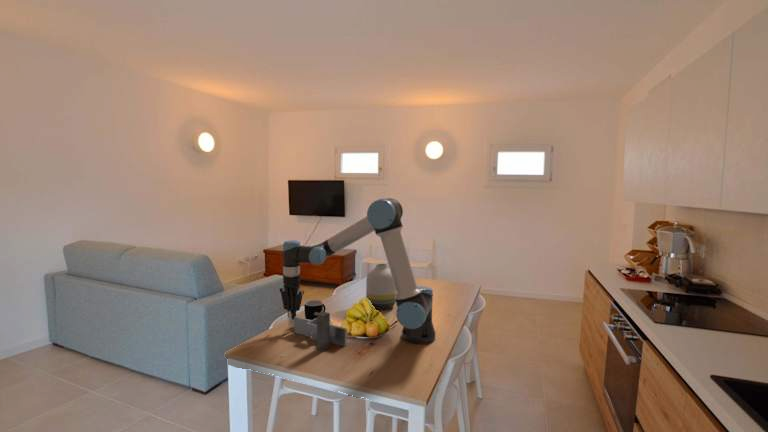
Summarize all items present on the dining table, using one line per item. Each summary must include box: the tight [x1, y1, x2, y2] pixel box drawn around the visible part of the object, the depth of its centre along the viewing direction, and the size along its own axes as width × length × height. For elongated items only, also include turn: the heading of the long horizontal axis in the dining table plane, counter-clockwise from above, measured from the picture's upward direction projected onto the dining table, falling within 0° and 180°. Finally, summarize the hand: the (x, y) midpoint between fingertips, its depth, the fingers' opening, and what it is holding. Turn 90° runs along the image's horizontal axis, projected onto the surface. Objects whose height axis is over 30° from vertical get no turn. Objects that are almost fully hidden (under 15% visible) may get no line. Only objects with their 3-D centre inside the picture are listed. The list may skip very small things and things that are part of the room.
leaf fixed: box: [311, 324, 348, 347], centre depth 155 cm, size 16×6×7 cm, turn 63°
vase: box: [365, 263, 397, 310], centre depth 202 cm, size 17×17×24 cm
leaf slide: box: [293, 316, 317, 337], centre depth 161 cm, size 16×7×7 cm, turn 63°
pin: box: [316, 311, 331, 352], centre depth 148 cm, size 4×4×15 cm
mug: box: [303, 299, 326, 320], centre depth 177 cm, size 12×9×10 cm
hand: (291, 324), depth 165 cm, fingers closed
